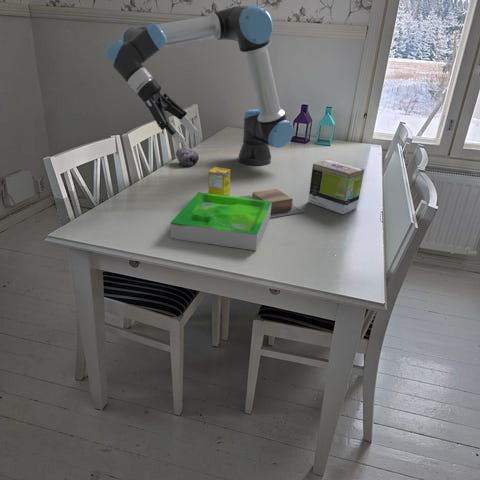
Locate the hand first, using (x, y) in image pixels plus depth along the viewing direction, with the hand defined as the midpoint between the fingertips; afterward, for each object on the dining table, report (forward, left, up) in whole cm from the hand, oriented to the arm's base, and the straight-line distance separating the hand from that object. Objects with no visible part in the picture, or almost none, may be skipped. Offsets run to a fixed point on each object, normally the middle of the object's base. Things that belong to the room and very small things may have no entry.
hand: (188, 137), depth 141 cm
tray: (+28, +1, -21) cm, 35 cm away
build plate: (+18, +23, -21) cm, 36 cm away
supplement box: (+7, +9, -21) cm, 24 cm away
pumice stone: (-35, +13, -21) cm, 43 cm away
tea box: (+26, +45, -21) cm, 56 cm away
